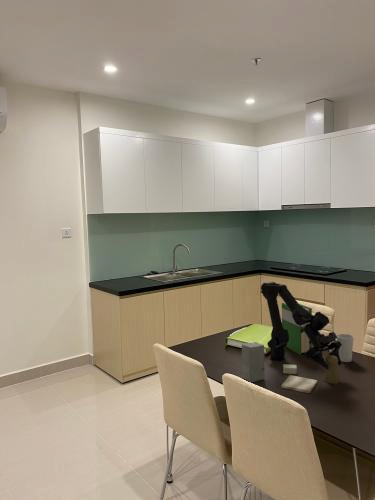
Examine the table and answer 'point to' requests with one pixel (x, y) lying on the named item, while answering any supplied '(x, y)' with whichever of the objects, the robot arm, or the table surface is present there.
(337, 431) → the table surface
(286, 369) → the soap bar
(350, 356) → the cup
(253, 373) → the skincare box
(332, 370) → the cork
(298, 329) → the hardback book
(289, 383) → the board
